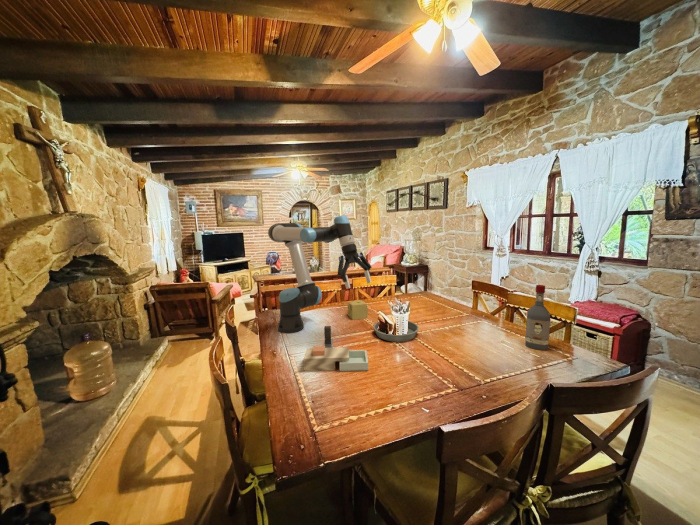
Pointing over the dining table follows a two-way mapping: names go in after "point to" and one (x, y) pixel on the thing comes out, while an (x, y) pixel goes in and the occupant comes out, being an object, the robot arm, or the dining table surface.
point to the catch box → (355, 361)
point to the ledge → (325, 359)
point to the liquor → (538, 323)
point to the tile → (318, 350)
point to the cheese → (357, 310)
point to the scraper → (328, 337)
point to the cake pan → (398, 338)
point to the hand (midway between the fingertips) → (359, 285)
